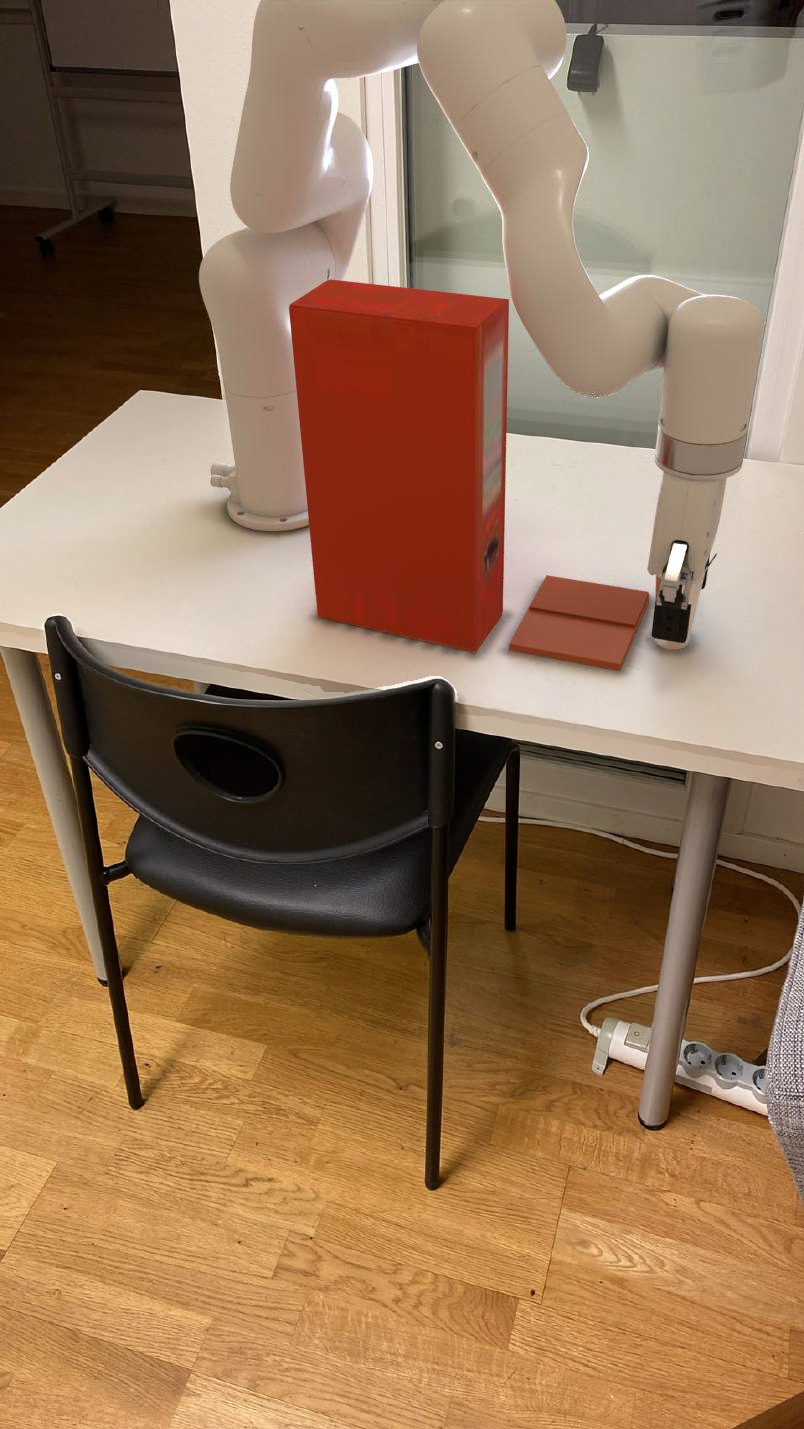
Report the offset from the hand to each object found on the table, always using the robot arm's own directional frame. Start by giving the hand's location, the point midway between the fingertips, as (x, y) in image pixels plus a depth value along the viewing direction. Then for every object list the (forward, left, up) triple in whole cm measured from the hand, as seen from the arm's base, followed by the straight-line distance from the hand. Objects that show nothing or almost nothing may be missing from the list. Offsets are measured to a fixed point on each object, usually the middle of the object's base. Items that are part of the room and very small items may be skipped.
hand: (679, 611), depth 113 cm
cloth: (-9, 0, -3) cm, 10 cm away
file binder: (-26, -4, -4) cm, 27 cm away
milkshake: (0, 0, -4) cm, 4 cm away
